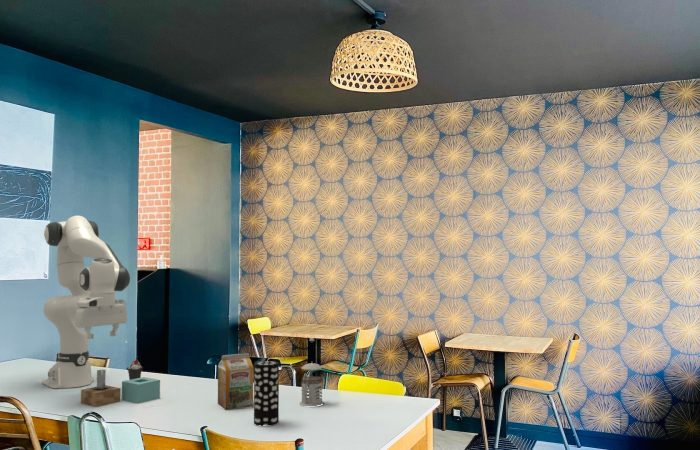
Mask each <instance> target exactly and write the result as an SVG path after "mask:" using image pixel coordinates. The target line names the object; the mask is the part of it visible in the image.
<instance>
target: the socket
mask: <svg viewBox="0 0 700 450" xmlns="http://www.w3.org/2000/svg"><path fill="white" fill-rule="evenodd" d="M121 391H122V387H116V386H112V385H107V384H105V390H101V391H97V386H93V387H87V388H83V389H81V390H80V404H82V405H86V406H91V407H94V408H98V407H102V406H107V405H112V404H115V403H117V404H118V403H120V402H121Z"/></svg>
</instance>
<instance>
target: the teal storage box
mask: <svg viewBox="0 0 700 450" xmlns="http://www.w3.org/2000/svg"><path fill="white" fill-rule="evenodd" d="M160 398H161V380H160V379H157V378H153V377H152V378H151V377H145V376H142V377H140V378H137V379H132V380H129V379H127V380H123V381H121V400H122V401H125V402H129V403H133V404H141V403H145V402H146V403H147V402H150V401H154V400H157V399H160Z"/></svg>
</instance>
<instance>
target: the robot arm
mask: <svg viewBox="0 0 700 450" xmlns="http://www.w3.org/2000/svg"><path fill="white" fill-rule="evenodd" d="M43 234H44V235H43V237H44V240H45V242H46V244H47V245H49V246H50V247H51V246H52V247H57V251H56V267H57V268H56V269H57V280H58V284H59V285H60V286H62V287H64V288H65V289H67V290H68V291H70V293H71V295H70V294H69V295H58V296H55V297H51V298H48V299H47V300H46V302H45V303H44V305H43V313H44V314H43V315H44V316H45V318H46V319H47V320H48V321H49V322H51V323H52V324H53V325H54V327H56V329H57V332H58V334H59V346H60V347H59V348H60V349H59V353H58V354H57V362H55V364H54V365H52V367H50V368H49V370H48V372H47V379H45V380H42V381H41V382H42V383H41V384H42V385H45V386H47V387H48V388H50V389H63V388H65V389H67V388H78V387H85V386H88V385H91V384H92V382H94V381H95V379H94V378H93V377H92V366H91V365H92V364H91V362H90V361H89V358H90V353H89V352H90V351H89V347H88V346H89V340H93V339H94V336H95V335H94V333H92V332H91V331H92V327H94V328H95V327H101V326H111V325H112V330H110V331H109V336H110V337H116V336H117V331H118V328H119V327H120V324H126V323H127V321H128V311H127V302H126V301H125V300H124V299H115V298H116V297H115V296H116V293H115V292H123V291H124V290H125V289H126V288H127V287H128V286H129V285H130V284H131V283H130V281H131V277H130V272H129V271H128V269H127V268H126V267H125V266H124V265H123V264H122V263H121V261H120V260H119V258H118V256H117V255H116V254H115V252H114V251H113V249H112V248H111V246H110V245H109V244H108V243H107V242H105V241H103V240H102V239H101V238H99V236H100V229H99V225H98V224H97V223H96V222H95V221H92V220H87V218H86V217H84V216H82V215H73V216H70V217H69V218H67V220H66V221H65V220H64V221H59V222H58V221H53V222H49V223H48V224H47V225H46V226H45V229H44V233H43ZM84 257H85V258H91V259H92V261H91V265H90V266H88V267H85V260H84ZM83 328H84V329H83Z"/></svg>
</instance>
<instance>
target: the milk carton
mask: <svg viewBox="0 0 700 450" xmlns="http://www.w3.org/2000/svg"><path fill="white" fill-rule="evenodd" d="M217 405H219V406H220V407H221V408H222V409H223V410H225V411H227V410H228V411H229V410H236V409H243V408H244V409H245V408H251V407H252V408H254V365H253V363H252V360H251V358H250V354H249V352H247V353H235V354H225V355H224V354H223V355H221V359H220V361H219V362H218V366H217Z"/></svg>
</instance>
